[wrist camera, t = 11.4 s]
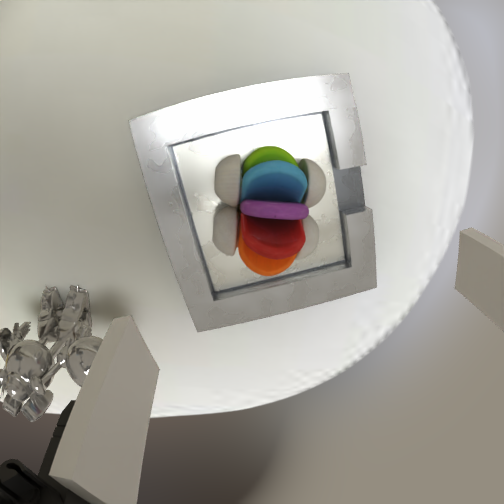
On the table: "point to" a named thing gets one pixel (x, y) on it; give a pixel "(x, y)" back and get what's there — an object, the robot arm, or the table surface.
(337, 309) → the table surface
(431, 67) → the table surface
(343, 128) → the plate
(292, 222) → the colorful rounded-lobe toy
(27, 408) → the robot toy
